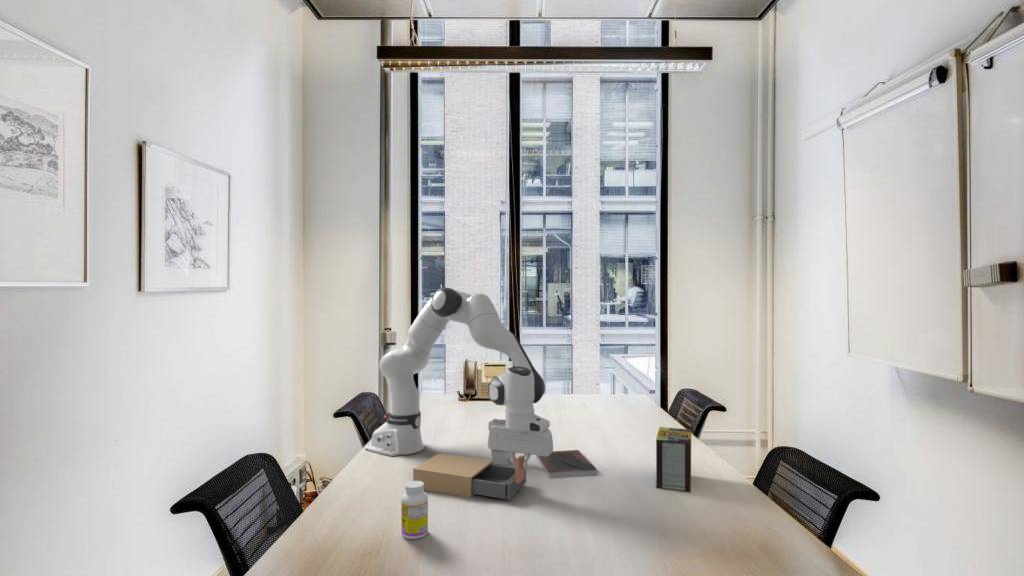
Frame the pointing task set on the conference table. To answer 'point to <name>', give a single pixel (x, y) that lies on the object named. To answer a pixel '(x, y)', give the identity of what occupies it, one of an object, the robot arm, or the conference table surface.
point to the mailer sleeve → (449, 473)
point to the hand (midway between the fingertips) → (519, 466)
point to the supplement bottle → (414, 511)
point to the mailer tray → (500, 480)
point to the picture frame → (566, 464)
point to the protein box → (673, 459)
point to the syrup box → (500, 457)
